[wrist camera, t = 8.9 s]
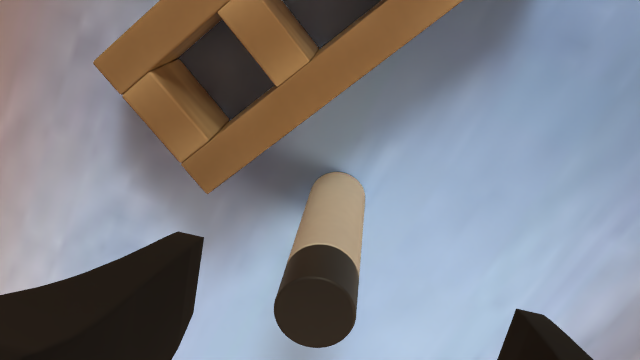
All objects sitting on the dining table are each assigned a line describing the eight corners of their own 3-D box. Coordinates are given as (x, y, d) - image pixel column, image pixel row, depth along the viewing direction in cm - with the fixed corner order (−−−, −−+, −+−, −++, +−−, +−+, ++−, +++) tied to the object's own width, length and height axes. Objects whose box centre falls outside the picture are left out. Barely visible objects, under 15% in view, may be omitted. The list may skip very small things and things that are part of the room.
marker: (376, 203, 23) (372, 323, 16) (332, 232, 24) (308, 362, 16) (342, 160, 23) (320, 262, 15) (298, 191, 24) (256, 305, 16)
